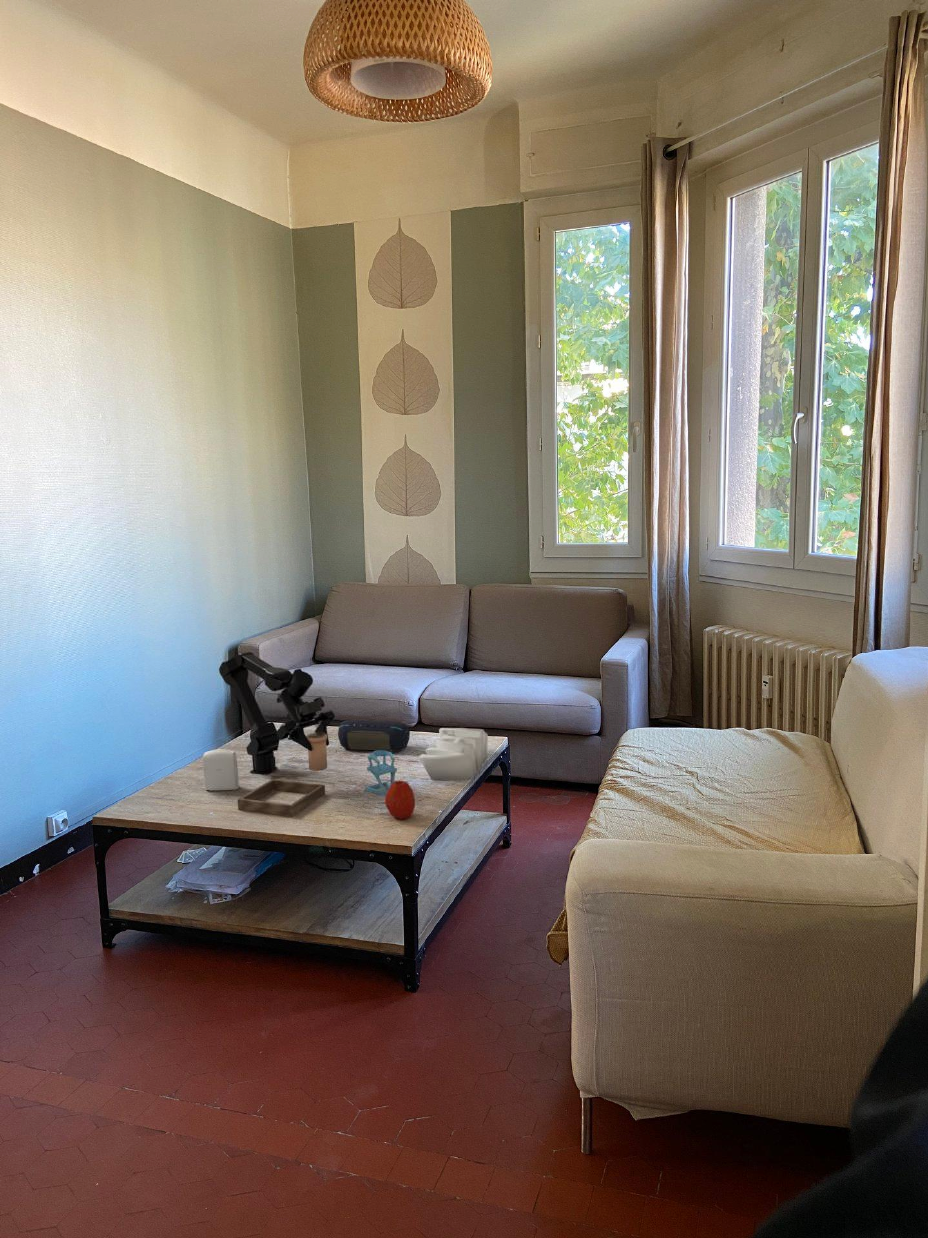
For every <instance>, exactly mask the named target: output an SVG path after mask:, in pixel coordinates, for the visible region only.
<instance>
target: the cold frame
mask: <svg viewBox="0 0 928 1238" xmlns="http://www.w3.org/2000/svg"><path fill="white" fill-rule="evenodd" d="M325 786H326V785H325V784H322V783H321V784H320V783H313V782H312V783H311V782H303V781H294V780H286V779H285V780H284V779H278V778H275V779H274V778H271V779H270V780H269V781H268V780H267V782H264V783H263V784H262V785H260V786H258V787H257V788H255V789H253V790H251V791H249V792H248V793H246V794H244V795H242V796H241V797H239V798H237V809H238V811H239V810H240V811H248V812H255V813H262V814H263V813H264V814H269V815H270V814H271V815H278V816H286V817H294V816H296V815H297V814H299V813H300V812H302V811H304V810H305V809H306V808H308V807H309V806H311V805H312V804H314V803H315V802H316V801H318V800H320V799H321V798H322V797H324V796H325V795H326V787H325ZM273 791H283V792H289V793H298V794H305V795H303V796H302V797H301V798H299V799H298V800H296V801H295V802H293V803H291V804H288V803H281V802H272V801H264V800H260V799H261V797H262V798H263V797H265V796H266V795H268V794H270V793H271V792H273Z"/></svg>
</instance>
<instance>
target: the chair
mask: <svg viewBox="0 0 928 1238" xmlns="http://www.w3.org/2000/svg"><path fill="white" fill-rule="evenodd" d="M387 756H389V758H390V760H391V763H390V764H388V763H387V761H386V757H387ZM379 757H382V763H381V761H380V760H379V759H378V758H379ZM395 758H396V757H395V756H394V754H393V753H392V751H382V750H373V751H372V752H371V753H370V754H368V755H367V759H368V762H369V766H368V767H367V768H366V771H368V772H369V773H371V774H372V775H373V776H374V778H375V780H376V782H377V783H376V784H372V785H368V786H365V787H364V791H366V792H371V793H374V794H378V795H382V796H386V793H387V791H388V789H389V788H390V786H391V785H392V783H393V782H395V781H396V780H395V777H396V776H395V775H396V772H397V771H398V768H397V767H395V765H394V764H395ZM372 761H374V762H375V763H376V764H377V765H374V766H373V762H372ZM386 774H390V782H388V781H384V782H383V781H382V780H381V778H380V776H383V775H386ZM385 787H387V790H386V788H385ZM377 788H381V789H377Z"/></svg>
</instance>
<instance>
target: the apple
mask: <svg viewBox="0 0 928 1238" xmlns="http://www.w3.org/2000/svg"><path fill="white" fill-rule="evenodd" d="M390 785H391V784H390ZM386 791H387V793H386V796H385V795H384V796H385V797H384V804H385V807H386V809H387V811H388V812H389V814H390V815H391V816H392V817H393V818H395V819H399V820H400V819H401V820H403V819H407V818H410V817H411V816H412V814H413V813H414V810H415V806H416V799H415V794H414V791H413V788H412V787H411V786H410V785H409V783H407V782H406V781H404V780H394V782H393V783H392V785H391V786H390V788H389V789H388V788H387V790H386Z"/></svg>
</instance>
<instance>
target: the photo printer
mask: <svg viewBox="0 0 928 1238" xmlns="http://www.w3.org/2000/svg"><path fill="white" fill-rule="evenodd" d="M202 765H203V767H202V768H203V777H204V778H203V779H204V788H205V791H207V790H209V791H233V790H234V791H235V790H238V789H239V788H240V783H239V769H238V768H239V767H238V757H237V753H236V751H234V750H230V749H224V748H223V749H220V748H219V749H212V750H208V751H205V752H204V753H203V755H202Z"/></svg>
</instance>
